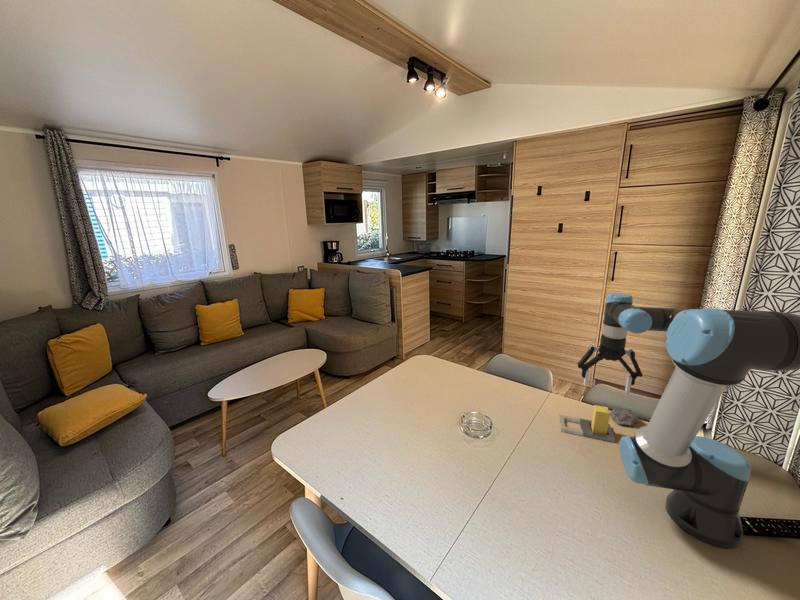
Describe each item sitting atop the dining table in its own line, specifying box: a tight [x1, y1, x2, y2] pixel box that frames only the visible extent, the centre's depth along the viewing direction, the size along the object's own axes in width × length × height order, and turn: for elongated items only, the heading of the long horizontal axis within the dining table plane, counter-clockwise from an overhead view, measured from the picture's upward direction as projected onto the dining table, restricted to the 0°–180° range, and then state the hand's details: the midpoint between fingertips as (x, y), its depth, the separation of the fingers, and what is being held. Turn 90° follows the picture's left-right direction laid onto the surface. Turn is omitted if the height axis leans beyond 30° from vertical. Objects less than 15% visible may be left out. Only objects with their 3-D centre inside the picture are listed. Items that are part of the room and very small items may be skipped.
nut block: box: [590, 404, 611, 435], centre depth 121 cm, size 4×4×10 cm
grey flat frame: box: [558, 414, 616, 443], centre depth 124 cm, size 10×18×1 cm, turn 67°
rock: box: [609, 406, 640, 427], centre depth 129 cm, size 9×11×4 cm
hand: (605, 388), depth 118 cm, fingers open, 13 cm apart
